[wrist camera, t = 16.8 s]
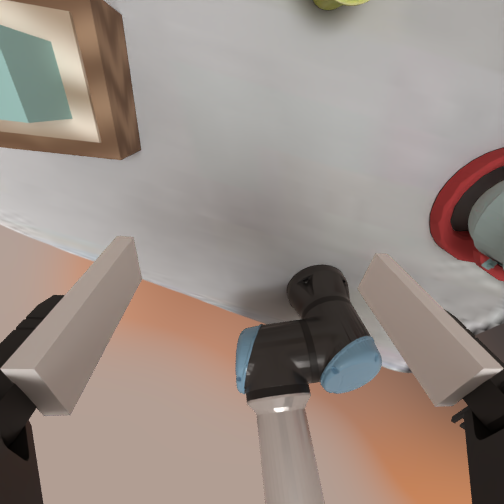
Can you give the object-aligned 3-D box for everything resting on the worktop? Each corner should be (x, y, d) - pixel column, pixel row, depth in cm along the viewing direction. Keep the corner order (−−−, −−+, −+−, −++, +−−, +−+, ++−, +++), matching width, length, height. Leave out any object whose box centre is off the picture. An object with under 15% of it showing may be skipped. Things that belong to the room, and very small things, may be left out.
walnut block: (141, 149, 37) (119, 160, 30) (35, 137, 35) (-15, 146, 28) (121, 14, 28) (84, -15, 21) (-21, -11, 26) (-114, -53, 19)
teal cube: (72, 118, 27) (28, 122, 21) (8, 110, 26) (-56, 113, 21) (50, 41, 23) (-10, 21, 18) (-25, 29, 22) (-116, 4, 17)
